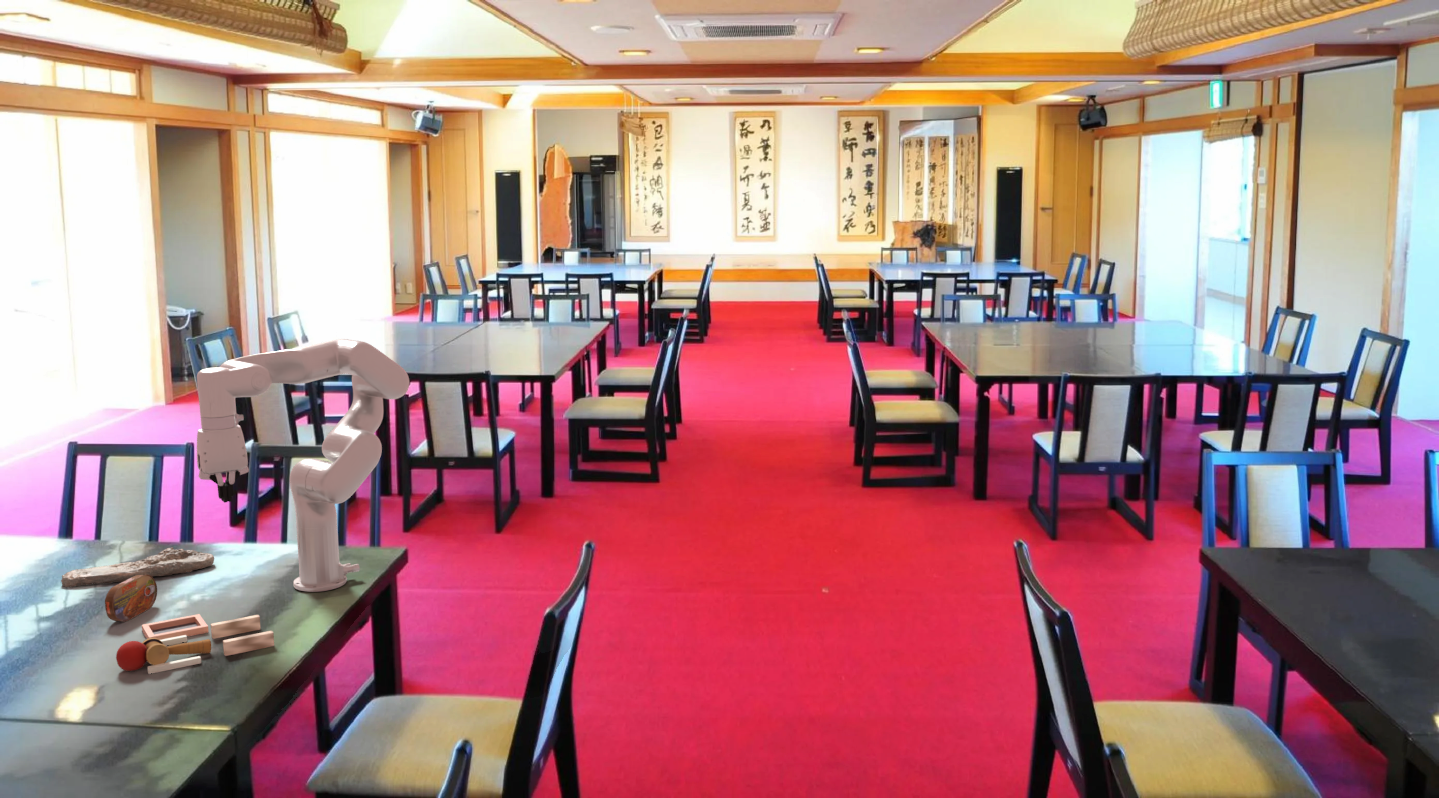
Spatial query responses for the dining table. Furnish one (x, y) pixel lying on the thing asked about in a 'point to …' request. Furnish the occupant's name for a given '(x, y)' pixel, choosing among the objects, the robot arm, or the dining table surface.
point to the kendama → (155, 652)
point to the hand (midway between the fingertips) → (226, 500)
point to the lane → (242, 642)
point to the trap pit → (175, 627)
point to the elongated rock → (141, 568)
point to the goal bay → (174, 663)
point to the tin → (131, 598)
